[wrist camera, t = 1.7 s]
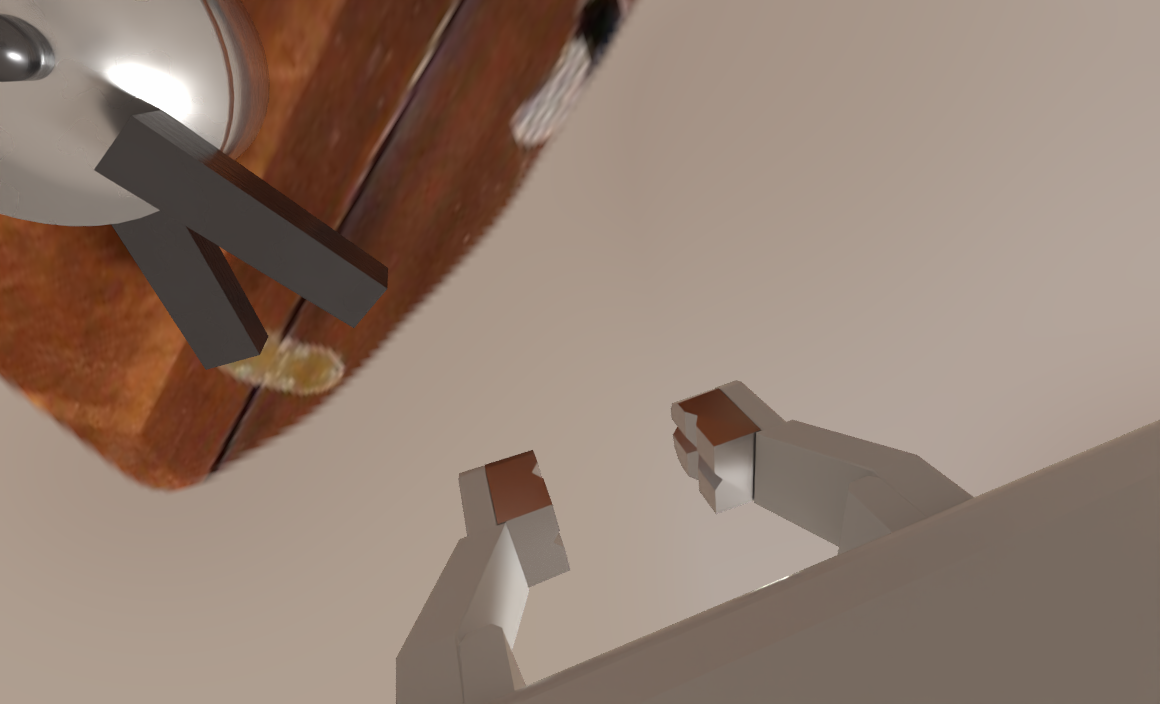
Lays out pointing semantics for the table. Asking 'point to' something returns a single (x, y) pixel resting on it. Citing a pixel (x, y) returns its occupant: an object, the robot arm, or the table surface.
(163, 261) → the pot
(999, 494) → the robot arm
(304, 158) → the table surface
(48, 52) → the lid
